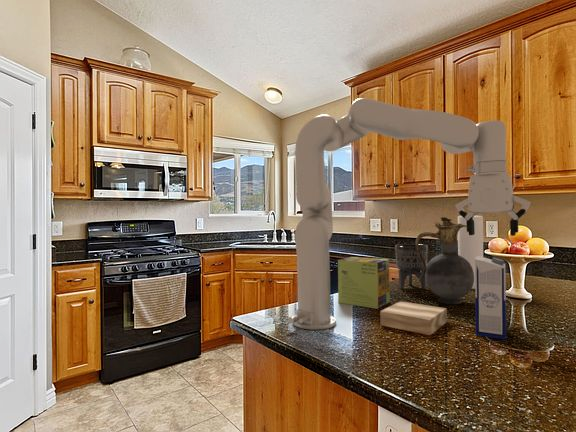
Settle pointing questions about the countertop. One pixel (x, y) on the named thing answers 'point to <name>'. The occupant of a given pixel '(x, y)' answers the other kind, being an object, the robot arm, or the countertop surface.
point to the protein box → (363, 282)
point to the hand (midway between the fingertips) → (491, 235)
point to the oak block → (414, 317)
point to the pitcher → (447, 265)
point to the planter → (410, 263)
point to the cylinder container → (471, 242)
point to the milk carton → (490, 297)
